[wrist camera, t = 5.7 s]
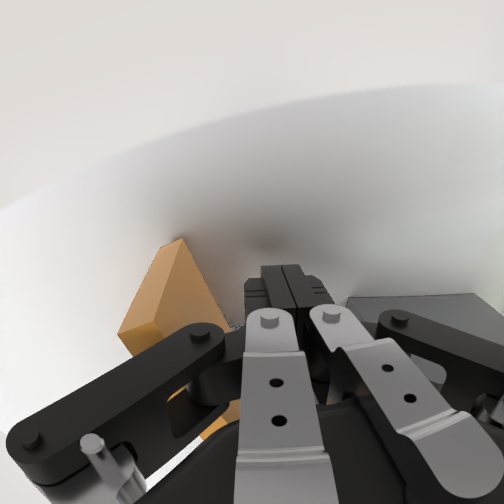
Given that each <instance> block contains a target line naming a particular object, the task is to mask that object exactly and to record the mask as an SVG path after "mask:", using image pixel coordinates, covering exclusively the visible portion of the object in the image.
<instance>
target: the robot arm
mask: <svg viewBox="0 0 504 504" xmlns="http://www.w3.org/2000/svg"><path fill="white" fill-rule="evenodd" d="M244 298H245V322H246V324H245V325H244V326H243V327H241V328H239V329H238V330H235V331H232V332H229V333H224V331H223V329H222V328H221V327H219V326H218V325H215V324H212V323H206V322H199V323H193V324H189V325H186V326H184V327H183V328H181V329H179V330H178V331H176V332H174V333H173V334H171V335H169V336H168V337H166V338H164V339H163V340H161V341H159V342H158V343H156V344H154V345H153V346H151V347H149V348H148V349H146V350H144V351H143V352H141V353H139V354H138V355H136V356H134V357H133V358H131V359H129V360H127V361H126V362H124V363H122V364H121V365H119V366H117V367H116V368H114V369H112V370H110V371H109V372H107V373H105V374H104V375H102V376H100V377H98V378H97V379H95V380H93V381H91V382H90V383H88V384H86V385H84V386H83V387H81V388H79V389H77V390H76V391H74V392H72V393H70V394H69V395H67V396H65V397H63V398H62V399H60V400H58V401H56V402H54V403H53V404H51V405H49V406H47V407H45V408H44V409H42V410H40V411H38V412H36V413H35V414H33V415H31V416H29V417H27V418H25V419H24V420H22V421H20V422H18V423H17V424H16V425H14V426H13V427H12V429H11V430H10V431H9V433H8V435H7V438H6V448H7V451H8V453H9V455H10V456H11V457H12V458H13V460H14V461H15V462H16V463H17V464H18V466H19V467H20V468H21V469H22V470H23V471H24V473H25V475H26V477H27V478H28V479H29V480H30V481H31V482H32V484H33V485H34V486H35V487H36V488H37V489H38V490H39V491H40V492H41V493H42V494H43V495H44V496H45V497H46V498H47V499H48V500H49V501H50V502H51V503H52V504H504V346H503V345H500V344H497V343H494V342H491V341H489V340H486V339H483V338H480V337H477V336H475V335H472V334H469V333H466V332H463V331H461V330H458V329H455V328H452V327H449V326H447V325H444V324H441V323H438V322H435V321H433V320H430V319H427V318H424V317H421V316H419V315H416V314H413V313H410V312H407V311H404V310H398V309H391V310H386V311H384V312H382V313H381V314H380V315H379V318H378V323H370V322H360V321H359V320H358V319H357V318H356V317H355V316H354V314H353V313H352V312H351V311H350V310H349V309H347V308H345V307H343V306H340V305H336V304H335V303H334V301H333V300H332V298H331V296H330V295H329V293H327V290H326V288H324V285H323V284H322V282H321V280H319V279H317V278H316V277H314V276H312V275H310V276H305V275H304V273H303V271H302V269H301V268H300V266H299V264H295V265H273V266H261V278H249V279H248V280H247V281H246V283H245V284H244ZM412 354H413V355H416V356H418V357H421V358H423V359H426V360H428V361H431V362H433V363H436V364H438V365H440V366H442V367H443V368H444V369H445V371H446V380H445V382H444V383H443V384H438V383H435V382H433V381H431V380H428V379H427V378H426V377H425V375H424V374H423V373H422V372H421V371H420V370H419V368H418V367H417V366H416V365H415V364H414V363H413V361H412V360H411V359H410V358H411V355H412ZM184 386H186V388H185V389H183V390H182V391H181V392H179V393H178V394H177V395H175V396H174V397H173V398H171V399H170V400H169V401H168V399H169V398H170V397H171V396H172V395H173V394H174V393H175V392H177V391H178V390H180V389H181V388H182V387H184ZM240 398H241V405H240V419H239V420H236V421H233V422H231V423H229V424H226V425H224V426H223V427H221V428H219V429H217V430H216V431H215V432H213V433H212V434H211V435H209V436H208V437H207V438H206V439H205V440H204V441H203V442H202V443H201V444H200V445H199V446H198V447H197V448H195V449H194V450H193V451H192V452H191V453H190V454H189V455H188V456H187V457H186V458H185V459H184V460H183V461H182V462H180V463H179V464H178V465H177V466H176V467H175V468H174V469H173V470H172V471H171V472H169V473H168V474H167V475H166V476H165V477H164V478H163V479H161V480H160V481H159V482H158V483H157V484H156V485H155V486H153V487H152V488H151V489H150V490H149V491H148V492H146V481H145V479H147V478H148V477H149V476H150V475H152V474H153V473H154V472H156V471H157V470H158V469H159V468H161V467H162V466H163V465H164V464H166V463H167V462H168V461H169V460H170V459H172V458H173V457H174V456H175V455H176V454H178V453H179V452H180V451H181V450H182V449H184V448H185V447H186V446H187V445H188V444H190V443H191V442H192V441H193V440H194V439H195V438H197V437H198V436H199V435H200V434H201V433H202V432H203V431H204V430H206V429H207V428H208V427H209V426H210V425H211V424H212V423H213V422H215V421H216V420H217V419H218V418H219V417H220V416H221V415H222V414H223V413H224V412H226V410H227V409H228V408H229V406H230V401H234V400H237V399H240Z"/></svg>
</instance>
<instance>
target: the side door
mask: <svg viewBox="0 0 504 504" xmlns="http://www.w3.org/2000/svg"><path fill="white" fill-rule="evenodd" d="M199 322H206V323H212V324H215V325H218V326H219V327H221V328H222V329H223V331H224V333H229V332H232V331H235V330H236V329H235V327H232V328H230V327H229V325H228V323H227V321H226V319H225V318H224V316H223V314H222V312H221V310H220V308H219V306H218V305H217V303H216V301H215V299H214V297H213V295H212V293H211V291H210V290H209V288H208V286H207V284H206V282H205V280H204V278H203V276H202V274H201V272H200V270H199V269H198V267H197V265H196V263H195V261H194V259H193V257H192V255H191V253H190V251H189V249H188V247H187V245H186V243H185V241H184V239H183V238H181V239H179V240H176V241H174V242H172V243H170V244H167V245H165V246H163V247H161V248H160V249H159V251H158V253H157V255H156V257H155V259H154V260H153V262H152V264H151V266H150V268H149V270H148V272H147V274H146V276H145V278H144V280H143V282H142V284H141V286H140V288H139V290H138V292H137V294H136V296H135V298H134V300H133V302H132V304H131V306H130V308H129V310H128V312H127V315H126V317H125V319H124V321H123V323H122V325H121V327H120V330H119V332H118V334H117V335H118V336H119V338H120V339H121V340H122V342H123V343H124V345H125V346H126V347H127V349H128V350H129V352H130V353H131V354H132V356H133V357H134V356H136V355H138V354H139V353H141V352H143V351H144V350H146V349H148V348H149V347H151V346H153V345H154V344H156V343H158V342H159V341H161V340H163V339H164V338H166V337H168V336H169V335H171V334H173V333H174V332H176V331H178V330H179V329H181V328H183V327H184V326H186V325H189V324H193V323H199ZM185 388H186V386H184V387H182V388H181V389H180V390H178V391H177V392H175V393H174V394H173V395H172V396H171V397H170V398H169V399H168V401H169V400H170V399H171V398H173V397H174V396H175V395H177V394H178V393H179V392H181V391H182V390H183V389H185ZM240 405H241V398H240V399H237V400H234V401H230V406H229V408H228V409H227V410H226V412H224V413H223V414H222V415H221V416H220V417H219V418H218V419H217V420H216V421H215V422H213V423H212V424H211V425H210V426H209V427H208V428H207V429H206V430H204V431H203V432H202V433H201V434H200V435H199V436H200V437H201V438H202V439H203V440H205V439H206V438H207V437H208V436H209V435H211V434H212V433H213V432H215V431H216V430H217V429H219V428H221V427H223V426H224V425H226V424H229V423H231V422H233V421H236V420H239V419H240Z"/></svg>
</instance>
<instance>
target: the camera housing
mask: <svg viewBox="0 0 504 504" xmlns="http://www.w3.org/2000/svg"><path fill="white" fill-rule="evenodd" d="M346 308H347V309H349V310H350V311H351V312H352V313H353V314H354V316H355V317H356V318H357V319H358V320H359V321H360V322H370V323H378V318H379V315H380V314H381V313H382V312H384V311H386V310H391V309H398V310H404V311H407V312H410V313H413V314H416V315H419V316H421V317H424V318H427V319H430V320H433V321H435V322H438V323H441V324H444V325H447V326H449V327H452V328H455V329H458V330H461V331H463V332H466V333H469V334H472V335H475V336H477V337H480V338H483V339H486V340H489V341H491V342H494V343H497V344H500V345H503V346H504V317H503V316H502V315H501V314H500V313H498V312H497V311H496V310H495V309H494V308H492V307H491V306H490V305H488V304H487V303H486V302H485V301H483V300H482V299H481V298H480V297H478V296H477V295H476V294H456V295H434V296H407V297H362V298H348V302H347V307H346ZM410 359H411V360H412V361H413V363H414V364H415V365H416V366H417V367H418V368H419V370H420V371H421V372H422V373H423V374H424V375H425V377H426V378H427V379H428V380H431V381H433V382H435V383H438V384H443V383H444V382H445V380H446V371H445V369H444V368H443V367H442V366H440V365H438V364H436V363H433V362H431V361H428V360H426V359H423V358H421V357H418V356H416V355H413V354H412V355H411V358H410Z"/></svg>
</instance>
